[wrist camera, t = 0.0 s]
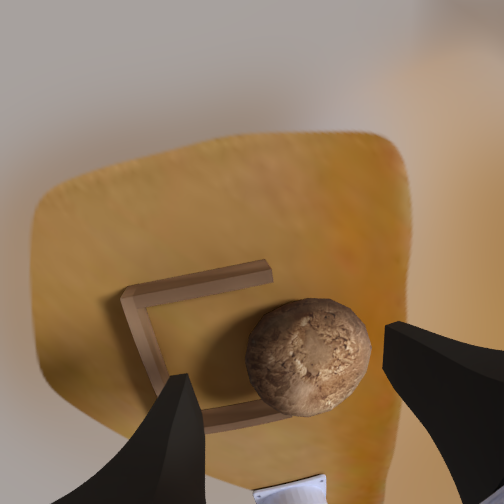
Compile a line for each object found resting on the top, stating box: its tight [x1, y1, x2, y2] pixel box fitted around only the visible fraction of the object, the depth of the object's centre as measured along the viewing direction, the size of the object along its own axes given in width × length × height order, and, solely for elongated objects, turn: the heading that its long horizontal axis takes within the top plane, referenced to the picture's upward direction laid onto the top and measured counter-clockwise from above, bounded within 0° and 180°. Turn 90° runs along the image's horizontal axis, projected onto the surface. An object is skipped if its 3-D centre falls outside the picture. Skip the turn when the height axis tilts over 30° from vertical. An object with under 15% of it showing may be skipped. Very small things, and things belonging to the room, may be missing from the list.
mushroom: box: [245, 298, 372, 417], centre depth 20 cm, size 8×8×6 cm
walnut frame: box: [120, 259, 292, 434], centre depth 20 cm, size 12×9×2 cm
